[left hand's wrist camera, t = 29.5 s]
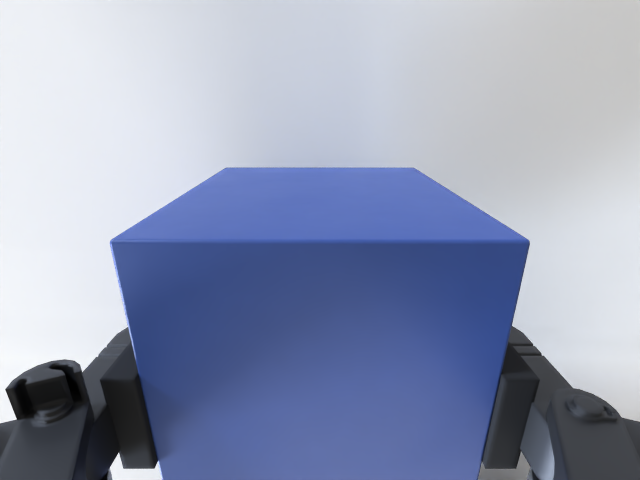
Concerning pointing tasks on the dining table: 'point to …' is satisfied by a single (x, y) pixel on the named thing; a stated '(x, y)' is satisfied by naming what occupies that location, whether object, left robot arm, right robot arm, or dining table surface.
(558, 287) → the dining table surface
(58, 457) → the left robot arm
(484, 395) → the block
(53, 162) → the dining table surface
